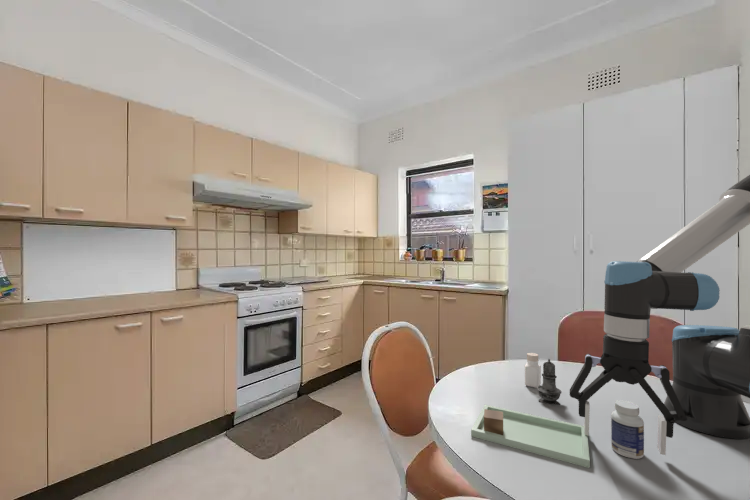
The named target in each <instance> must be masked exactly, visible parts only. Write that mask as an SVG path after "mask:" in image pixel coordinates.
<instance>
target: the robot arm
mask: <svg viewBox="0 0 750 500" xmlns="http://www.w3.org/2000/svg"><path fill="white" fill-rule="evenodd" d="M718 200H719V201H718V202H717V203H715V204H714V205H712V206H711V207H710V208H708V209H707V210H705V211H704V212H703V213H701V214H700V215H699V216H697V217H696V218H695V219H693V220H692V221H690V222H689V223H688V224H686V225H685V226H683V227H682V228H681V229H680V230H678V231H677V232H675V233H674V234H673V235H671V236H670V237H668V238H666V240H664V241H662V243H660V244H659V245H658V246H656V247H655V248H653V249H651V251H649V252H648V253H647V254H645V255H643V256H642V257H641V258H639V259H638V260H637V261H621V260H613V261H610V262H608V263H607V264H606V269H605V275H604V315H603V332H604V333H605V334H604V335H603V338H602V340H603V341H602V342H603V343H602V355H601V356H600V357H598V356H593V355H592V354H590V353H586V354H585V356H584V364H583V366H582V367H581V369H580V371H579V373H577V375H576V378H575V380H574V381H573V383H572V385H571V386H570V388H569V396H570V398H573V399H576V400H577V402H578V416H579V417H582V418H583V419H584V424H583V426H584V432H585V435H587V437H589V436H590V411H591V410H590V408H591V405H590V400H589V399H591V398H592V397H593V396H594V395H595V394H596V393H597V392H598V391H599V390H601V388H602V387H604V386H605V385H606V384H608V383H609V382H611V381H612V380H613V381H615V382H618V383H626V384H629V385H634V386H635V385H637V384H638V385H639V386H640V388H642V390H643V391H644V392H645V393H646V395H647V396H648V397H649V398H650V400H651V401H652V403H653V404H655V406H656V407H657V408H658V410H659V412H660V413H661V414H662V415H661V414H658V416H657V417H658V419H657V425H658V426H657V445H656V446H657V447H656V448H657V449H658V451H659V455H663V456H666V451H667V449H666V448H667V447H666V446H667V438H673V437H674V424H675V423H677V424H679V425H681V426H682V427H685V428H687V429H690V430H692V431H696V432H699V433H702V434H705V435H711V436H715V437H719V438H720V437H721V438H726V439H734V440H735V439H736V440H737V439H738V440H739V439H741V440H743V439H748V438H749V439H750V415H749V412H748V411H747V408H746V405H745V404H744V400H743V398H742V396H743V397H745V398H749V399H750V323H749V324H746V325H742V326H740V329H738V328H737V327H731V326H723V325H722V326H720V325H699V324H681V325H677V326H675V327H674V328H673V330H672V338H671V346H672V347H671V349H672V351H671V352H672V355H671V356H672V383H671V381H670V374H671V373H670V370H669V369H668V368H667V367H666V365H663V364H660V365H658V366H657V365H650V362H649V352H650V350H649V349H650V342H649V341H648V339H649V338H650V325H651V324H650V322H651V321H650V319H651V310H652V309H653V310H657V309H660V310H661V309H663V310H679V311H680V310H681V311H683V310H684V311H685V310H686V311H690V312H695V311H705V310H709V309H712V308H713V307H715V306H716V305H717V304H718V302H719V300H720V293H721V292H720V291H721V290H720V286H719V284H718V282H717V281H716V280H715V279H714V278H713V277H712V276H711V275H708V274H705V273H697V272H693V271H692V272H691V271H687V272H684V271H685V270H687V269H688V268H689V267H692V265H694V264H696V263H697V262H698V261H699V260H701V259H702V258H704V257H705V256H706V255H708V254H709V253H711V252H712V251H713V250H715V249H717V248H718V247H719V246H720V245H722V244H724V243H725V242H727V241H728V240H730V239H731V238H732V237H734V236H735V235H736V234H737V233H739V232H741V231H742V230H743V229H745V228H746V227H748V226H749V225H750V174H748V175H747V176H746V177H744V178H742V179H741V180H740V181H738V182H736V183H735V184H734V185H732V186H731V187H729V188H728V189H727V190H726V191H724V192H723V193H722V194H720V196H719V199H718ZM597 364H600V365H601V367H602V368H603V371H601V373H600V374H599V375H598V376H597V377H596V378H595V379H594V380H593V381H591V382H590V384H589V383H588V385H587V386H585V388H584V389H583V390H582V391H580V390H581V388H582V387H583V385H584V384H585V381H586V380H587V378H588V376H589V375H590V372H591V371H592V368H595V367H596V366H597ZM651 373H653V374H654V376H655V378H658V379H659V381H660V382H661V385H662V387H663V389H664V391H665V393H666V398H665V399H664V402H663V401H662V399H661V398H660V397H659V396H658V395H657V393H656V392H655V391H654V390H653V388H652V387H651V385H650V384H649V383H648V382H647V380H646V379H645V378H646V377H647V376H648V375H649V374H651Z"/></svg>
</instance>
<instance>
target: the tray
mask: <svg viewBox="0 0 750 500" xmlns="http://www.w3.org/2000/svg"><path fill="white" fill-rule="evenodd" d="M484 409H487V410H494V411H500V412H503V435H499V434H495V433H492V432H488V431H484ZM470 434H471V435H470V437H473V438H477V439H480V440H484V441H488V442H491V443H495V444H498V445H503V446H506V447H509V448H514V449H518V450H520V451H524V452H529V453H532V454H536V455H539V456H543V457H547V458H550V459H554V460H558V461H562V462H565V463H568V464H569V463H570V464H572V465H576V466H580V467H584V468H586V469H590V467H591V463H590V462H591V461H590V459H591V457H590V449H589V439H588V435H585V432H584V425H581V424H578V423H577V424H576V423H572V422H568V421H567V422H566V421H562V420H558V419H554V418H548V417H544V416H539V415H535V414H530V413H526V412H522V411H517V410H513V409H508V408H504V407H500V406H499V407H498V406H494V405H489V404H484V406H483V407H482V409H481V411H480V412H479V414H478V416H477V418H476V420H475V422H474V423H473V426H472V427H471V430H470Z"/></svg>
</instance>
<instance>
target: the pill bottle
mask: <svg viewBox="0 0 750 500" xmlns="http://www.w3.org/2000/svg"><path fill="white" fill-rule="evenodd" d="M614 408H615V410H613V411H612V412H611V414H610V416H611V417H610V418H611V419H610V420H611V421H610V423H611V424H610V425H611V426H610V427H611V428H610V429H611V433H610V434H611V437H610V438H611V440H610V441H611V442H610V443H611V448H612V450H613V451H614V452H616V454H619V455H621V456H623V457H626V458H629V459H635V460H639V459H642V458H644V456H645V454H644V453H645V422H644V420H643V418H642V417H641V416H640V406H639V405H638V404H636V403H634V402H632V401H630V400H629V401H628V400H622V399H618V400H615V402H614Z"/></svg>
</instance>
